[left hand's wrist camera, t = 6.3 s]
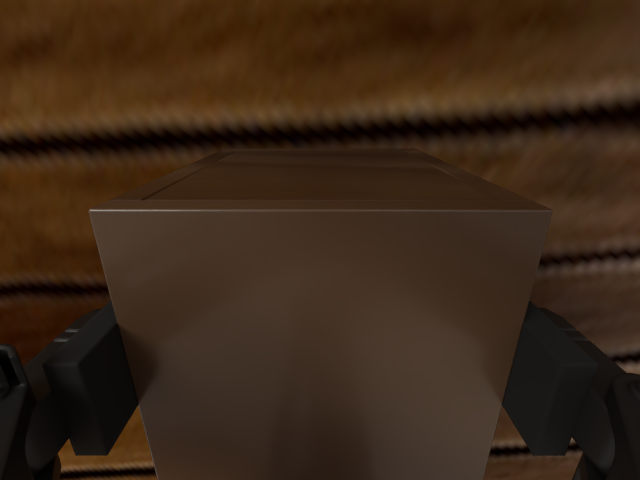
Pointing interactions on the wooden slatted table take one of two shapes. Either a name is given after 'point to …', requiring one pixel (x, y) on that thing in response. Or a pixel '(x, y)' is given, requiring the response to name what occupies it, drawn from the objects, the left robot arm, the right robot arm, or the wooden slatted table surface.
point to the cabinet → (320, 312)
